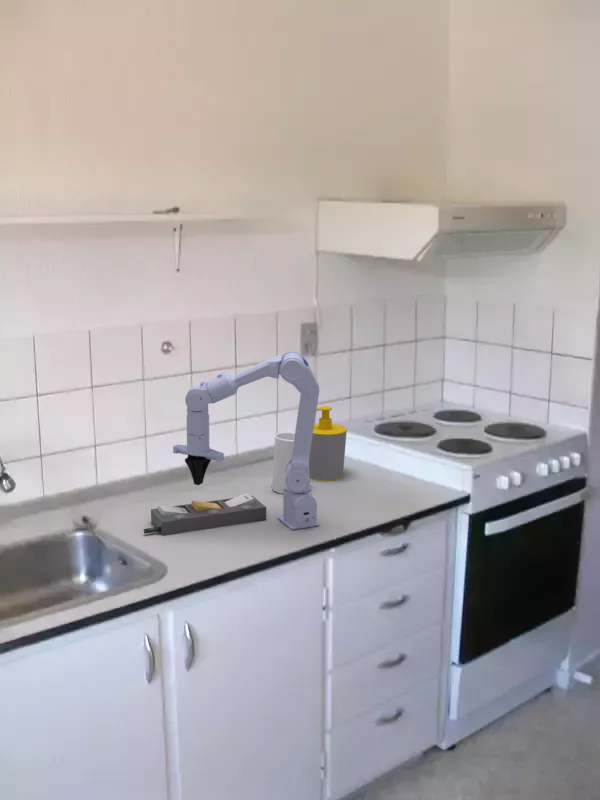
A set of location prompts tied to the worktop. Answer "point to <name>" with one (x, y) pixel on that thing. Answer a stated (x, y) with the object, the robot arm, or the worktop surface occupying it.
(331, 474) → the soap bottle
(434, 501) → the worktop surface
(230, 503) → the rocker
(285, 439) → the cup
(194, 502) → the rocker mid
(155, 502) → the worktop surface
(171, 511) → the block
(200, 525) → the power strip
